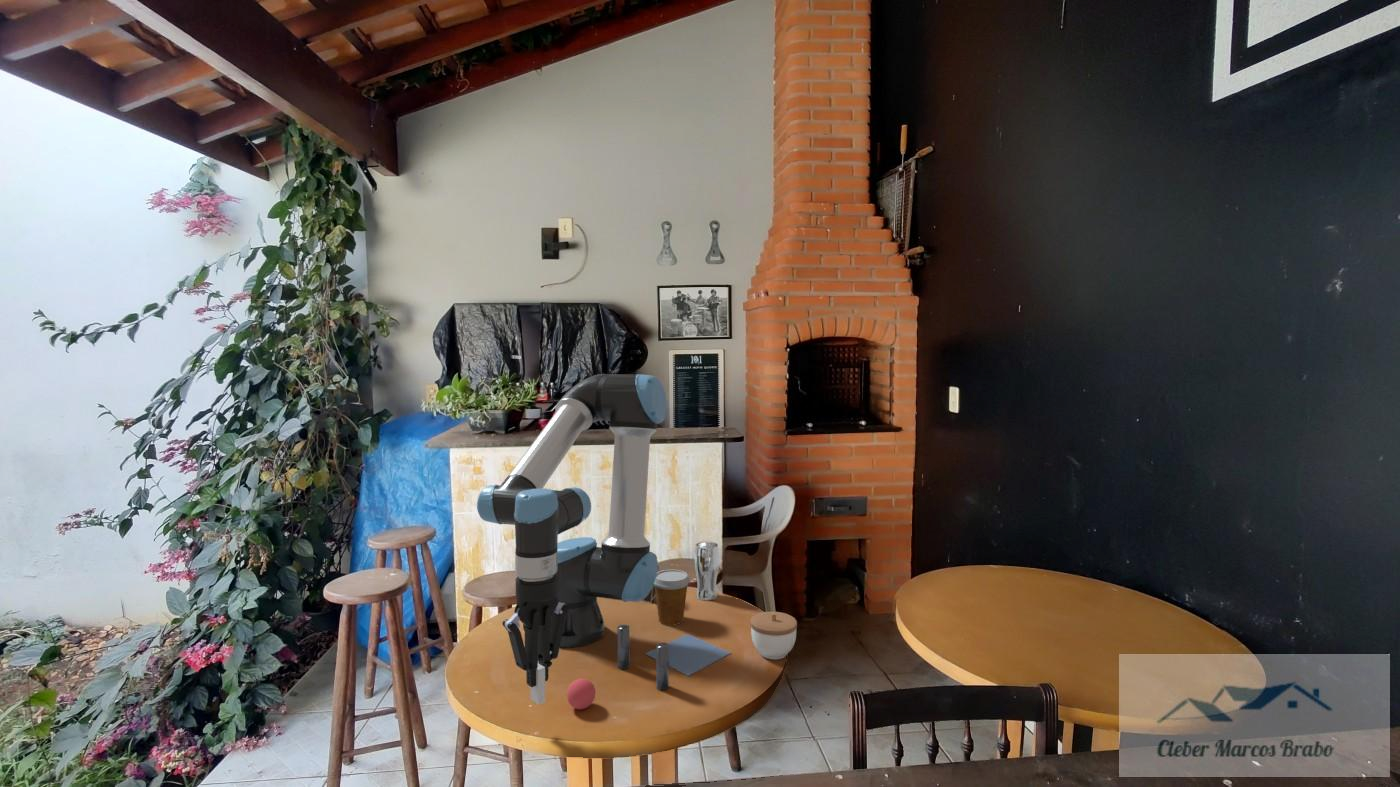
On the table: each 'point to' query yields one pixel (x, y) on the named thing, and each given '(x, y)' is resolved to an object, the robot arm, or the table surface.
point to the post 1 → (623, 647)
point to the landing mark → (691, 654)
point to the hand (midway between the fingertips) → (537, 700)
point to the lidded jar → (773, 634)
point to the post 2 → (662, 666)
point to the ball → (581, 693)
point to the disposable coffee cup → (671, 595)
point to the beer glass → (706, 569)
